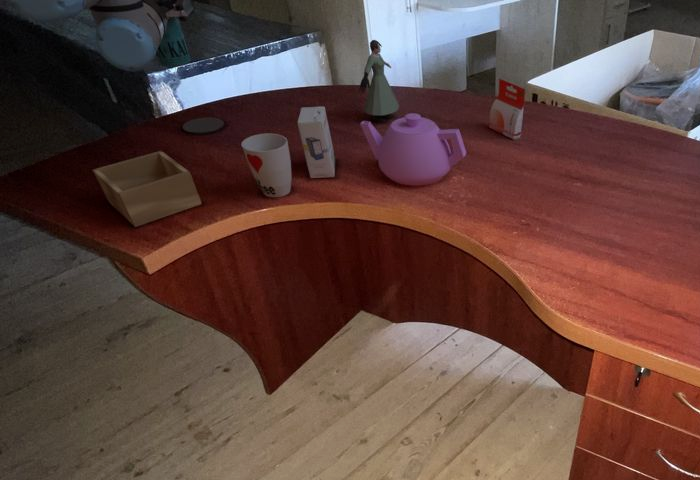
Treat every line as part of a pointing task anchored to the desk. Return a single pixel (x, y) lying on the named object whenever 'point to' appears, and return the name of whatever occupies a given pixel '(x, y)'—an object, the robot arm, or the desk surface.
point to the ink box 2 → (508, 109)
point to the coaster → (203, 125)
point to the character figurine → (378, 86)
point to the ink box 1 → (316, 142)
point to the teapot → (414, 150)
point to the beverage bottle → (173, 46)
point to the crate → (148, 187)
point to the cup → (269, 163)
